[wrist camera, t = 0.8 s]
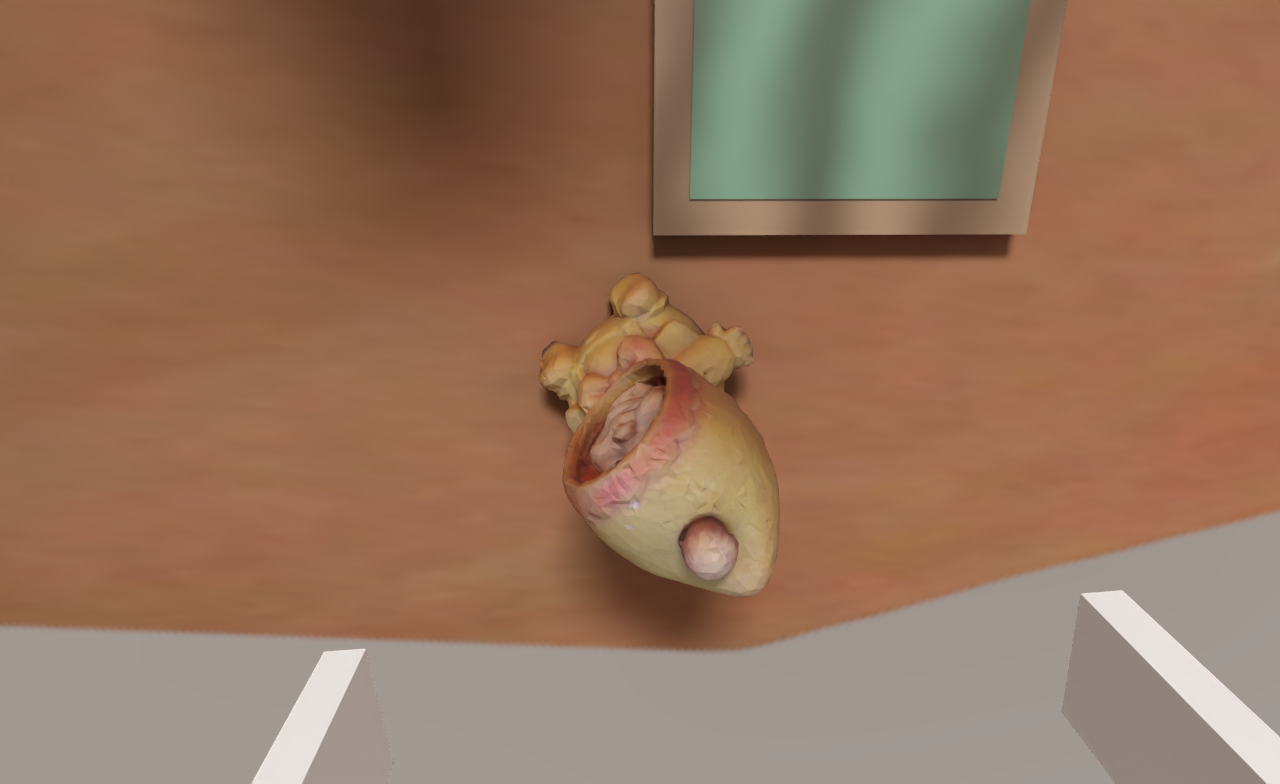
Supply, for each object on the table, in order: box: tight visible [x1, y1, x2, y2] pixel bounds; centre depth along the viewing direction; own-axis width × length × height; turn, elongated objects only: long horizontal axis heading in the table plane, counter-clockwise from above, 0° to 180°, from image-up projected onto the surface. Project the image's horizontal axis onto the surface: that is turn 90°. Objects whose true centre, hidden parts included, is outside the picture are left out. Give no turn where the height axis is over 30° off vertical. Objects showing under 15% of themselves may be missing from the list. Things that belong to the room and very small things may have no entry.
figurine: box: [539, 273, 780, 597], centre depth 29 cm, size 10×8×15 cm
